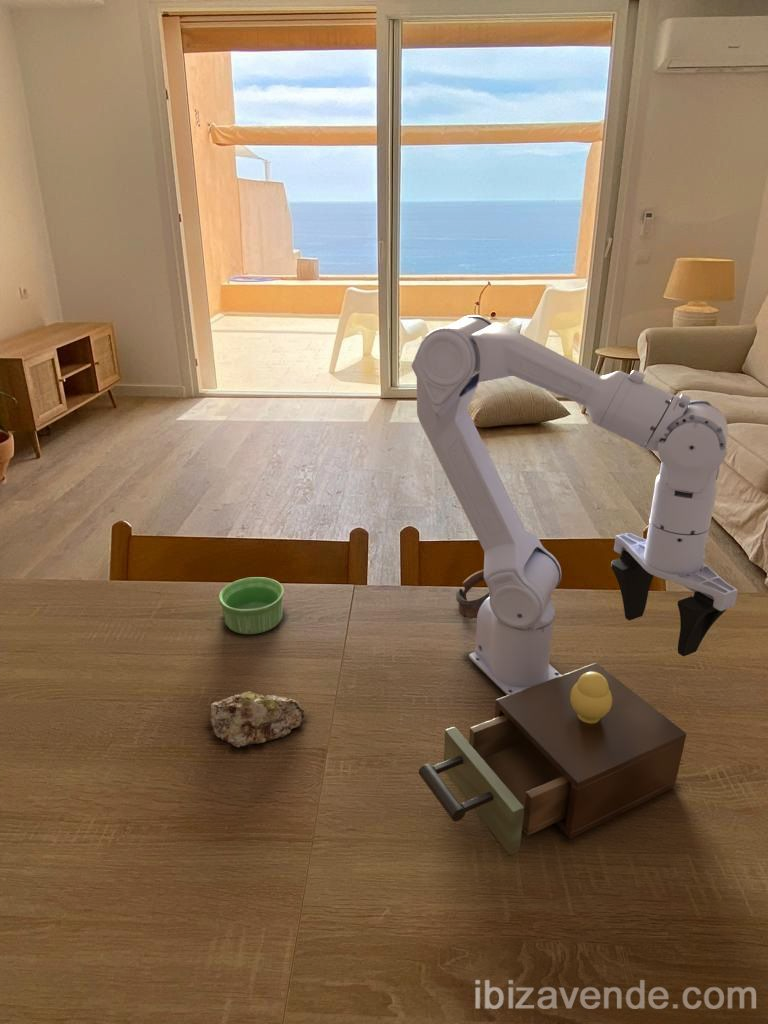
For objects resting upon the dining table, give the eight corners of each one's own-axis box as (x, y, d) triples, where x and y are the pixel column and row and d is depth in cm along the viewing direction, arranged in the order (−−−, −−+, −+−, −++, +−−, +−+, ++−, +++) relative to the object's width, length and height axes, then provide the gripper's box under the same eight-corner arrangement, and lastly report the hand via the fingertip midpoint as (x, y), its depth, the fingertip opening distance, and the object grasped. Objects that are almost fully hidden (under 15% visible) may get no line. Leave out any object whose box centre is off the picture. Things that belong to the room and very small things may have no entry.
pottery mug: (526, 647, 93) (498, 603, 90) (467, 653, 99) (439, 611, 95) (547, 586, 101) (522, 544, 98) (492, 595, 107) (466, 555, 104)
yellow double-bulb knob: (586, 735, 67) (592, 693, 65) (559, 710, 70) (564, 669, 68) (617, 722, 69) (625, 680, 67) (590, 698, 72) (595, 658, 70)
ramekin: (263, 595, 104) (260, 570, 103) (298, 620, 98) (296, 593, 96) (210, 618, 99) (206, 592, 97) (244, 645, 93) (241, 618, 91)
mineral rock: (200, 738, 74) (212, 675, 80) (205, 759, 77) (217, 697, 83) (302, 737, 74) (306, 675, 80) (303, 759, 77) (307, 697, 83)
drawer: (466, 875, 60) (469, 832, 58) (404, 785, 70) (404, 744, 67) (614, 804, 67) (622, 762, 65) (540, 730, 77) (544, 692, 74)
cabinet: (569, 839, 65) (577, 782, 62) (491, 751, 75) (495, 699, 72) (674, 787, 70) (687, 733, 67) (588, 712, 80) (596, 662, 78)
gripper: (769, 542, 67) (741, 658, 72) (653, 491, 79) (637, 594, 84) (718, 559, 64) (693, 678, 70) (606, 503, 76) (592, 609, 81)
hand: (659, 633), depth 77 cm, fingers open, 7 cm apart
